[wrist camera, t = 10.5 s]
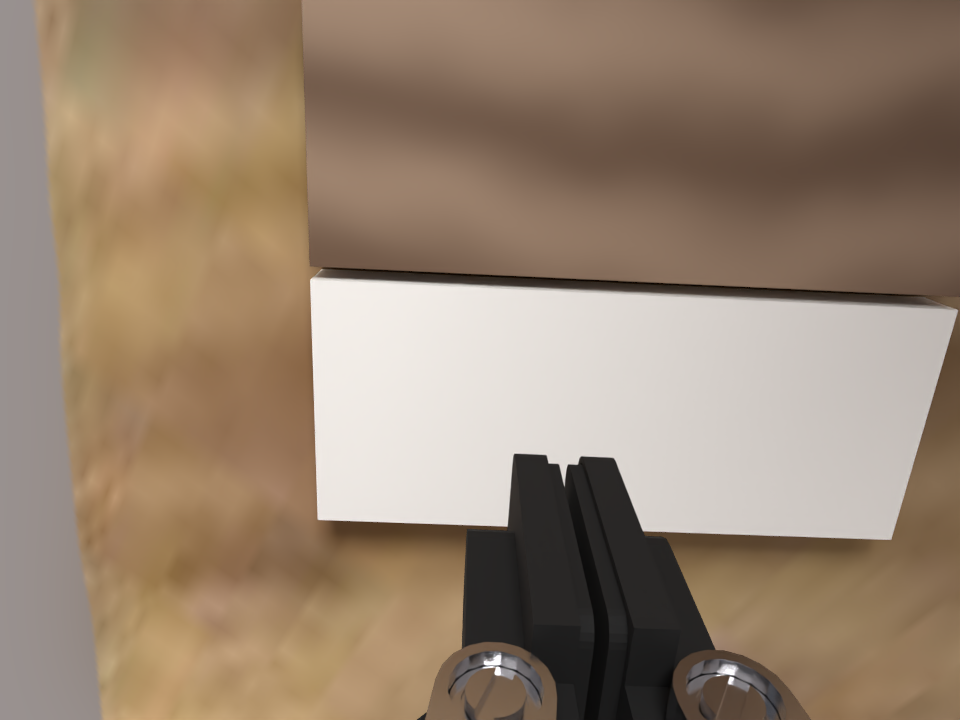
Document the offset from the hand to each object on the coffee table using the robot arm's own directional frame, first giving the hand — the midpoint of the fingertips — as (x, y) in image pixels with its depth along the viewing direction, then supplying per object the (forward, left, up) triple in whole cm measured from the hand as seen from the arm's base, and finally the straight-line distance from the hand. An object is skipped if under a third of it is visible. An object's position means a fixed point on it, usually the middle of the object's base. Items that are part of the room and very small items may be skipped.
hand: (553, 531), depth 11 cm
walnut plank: (-6, +5, -16) cm, 18 cm away
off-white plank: (+4, +5, -16) cm, 17 cm away
